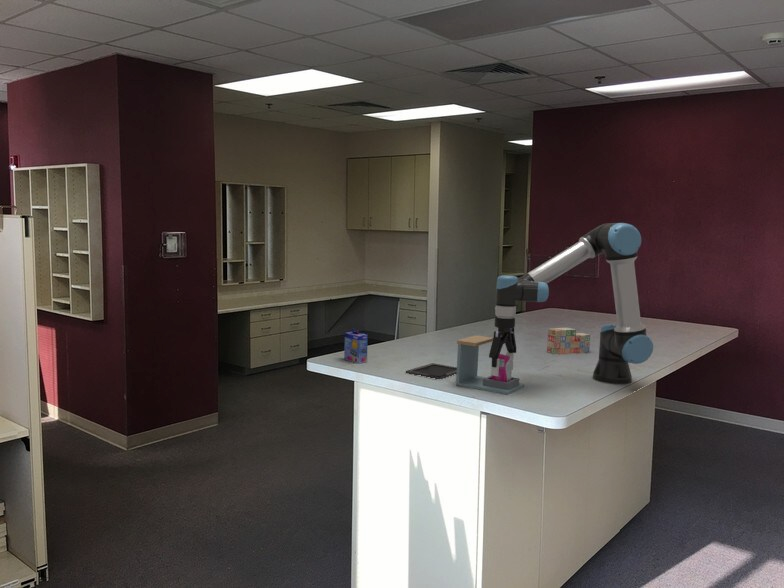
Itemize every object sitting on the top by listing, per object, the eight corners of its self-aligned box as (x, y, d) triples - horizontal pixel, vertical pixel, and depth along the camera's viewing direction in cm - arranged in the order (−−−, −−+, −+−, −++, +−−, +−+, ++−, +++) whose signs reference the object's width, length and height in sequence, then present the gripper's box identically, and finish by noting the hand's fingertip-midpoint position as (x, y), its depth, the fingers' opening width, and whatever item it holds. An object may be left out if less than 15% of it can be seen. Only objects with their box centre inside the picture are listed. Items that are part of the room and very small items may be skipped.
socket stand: (523, 386, 254) (526, 342, 252) (507, 394, 241) (510, 348, 239) (473, 377, 265) (475, 335, 264) (454, 384, 252) (457, 340, 250)
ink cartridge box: (343, 359, 290) (344, 327, 288) (352, 358, 294) (353, 326, 292) (358, 363, 283) (359, 330, 281) (367, 362, 287) (368, 329, 285)
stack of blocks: (581, 350, 336) (582, 326, 335) (589, 353, 331) (591, 328, 329) (546, 352, 328) (548, 327, 326) (554, 355, 322) (556, 330, 321)
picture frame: (439, 381, 259) (465, 372, 277) (439, 376, 259) (465, 367, 276) (405, 374, 268) (432, 366, 286) (405, 369, 268) (432, 362, 285)
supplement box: (497, 382, 254) (499, 353, 253) (511, 385, 251) (513, 355, 250) (490, 385, 250) (492, 355, 249) (504, 387, 246) (506, 357, 245)
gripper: (508, 312, 260) (505, 365, 262) (481, 319, 239) (478, 376, 241) (526, 314, 256) (523, 368, 258) (500, 321, 235) (497, 379, 237)
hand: (502, 372), depth 250 cm, fingers open, 13 cm apart
